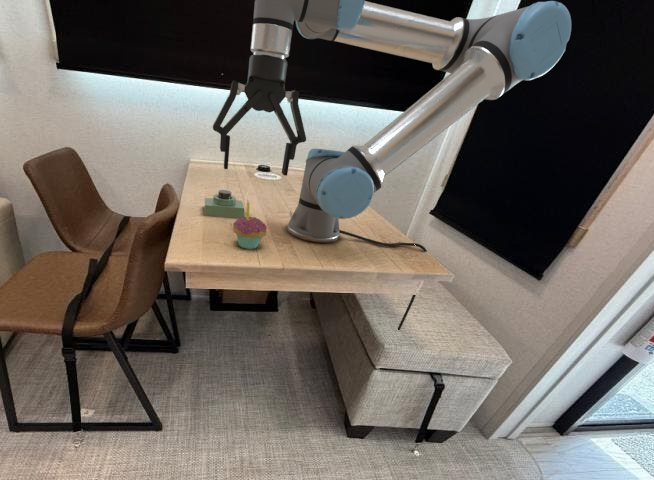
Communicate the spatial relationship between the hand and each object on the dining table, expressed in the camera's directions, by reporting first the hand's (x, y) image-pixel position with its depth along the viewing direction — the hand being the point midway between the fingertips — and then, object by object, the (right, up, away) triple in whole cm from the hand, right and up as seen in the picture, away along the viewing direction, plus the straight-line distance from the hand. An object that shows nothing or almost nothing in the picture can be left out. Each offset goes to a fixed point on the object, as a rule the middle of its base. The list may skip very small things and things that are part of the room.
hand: (255, 171), depth 75 cm
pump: (-10, +2, +27) cm, 29 cm away
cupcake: (-2, -15, +10) cm, 18 cm away
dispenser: (-10, -2, +29) cm, 31 cm away
